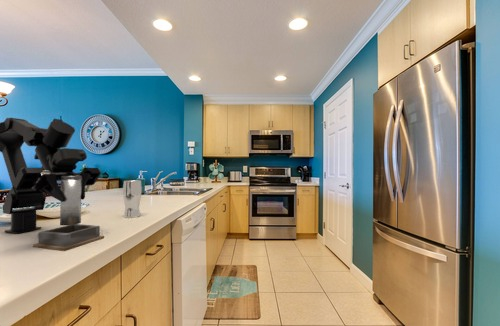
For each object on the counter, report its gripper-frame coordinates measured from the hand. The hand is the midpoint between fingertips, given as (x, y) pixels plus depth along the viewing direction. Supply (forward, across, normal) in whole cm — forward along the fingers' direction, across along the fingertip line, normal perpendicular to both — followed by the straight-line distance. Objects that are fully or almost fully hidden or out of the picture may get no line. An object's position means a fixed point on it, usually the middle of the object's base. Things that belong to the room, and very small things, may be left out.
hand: (73, 199), depth 63 cm
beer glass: (-3, +31, +20) cm, 37 cm away
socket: (+7, 0, +9) cm, 12 cm away
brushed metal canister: (+4, 0, +6) cm, 7 cm away
